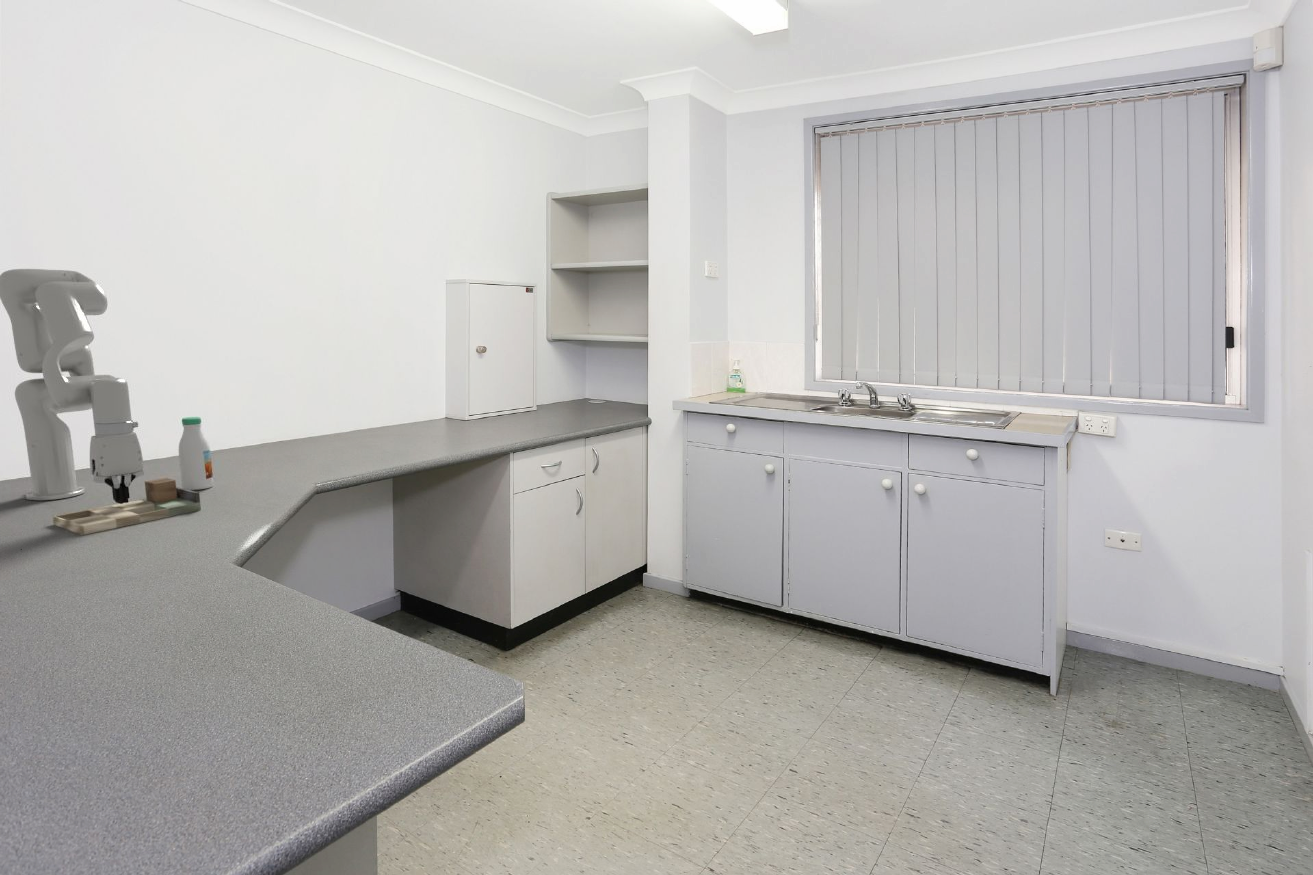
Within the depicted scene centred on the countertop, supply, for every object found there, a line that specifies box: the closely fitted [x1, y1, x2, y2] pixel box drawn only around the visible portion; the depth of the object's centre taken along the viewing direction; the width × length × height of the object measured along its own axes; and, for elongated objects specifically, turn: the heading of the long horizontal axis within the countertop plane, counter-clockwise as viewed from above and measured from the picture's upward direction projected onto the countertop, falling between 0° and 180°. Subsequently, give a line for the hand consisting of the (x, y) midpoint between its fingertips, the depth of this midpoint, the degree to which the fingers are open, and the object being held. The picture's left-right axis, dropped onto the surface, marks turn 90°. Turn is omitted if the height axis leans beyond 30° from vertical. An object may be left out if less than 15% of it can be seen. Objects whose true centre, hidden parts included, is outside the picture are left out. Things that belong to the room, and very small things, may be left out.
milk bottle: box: [178, 416, 214, 491], centre depth 217 cm, size 8×8×20 cm
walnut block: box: [144, 477, 177, 503], centre depth 197 cm, size 5×5×5 cm
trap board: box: [52, 486, 202, 536], centre depth 188 cm, size 15×26×4 cm, turn 148°
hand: (121, 502), depth 190 cm, fingers closed
